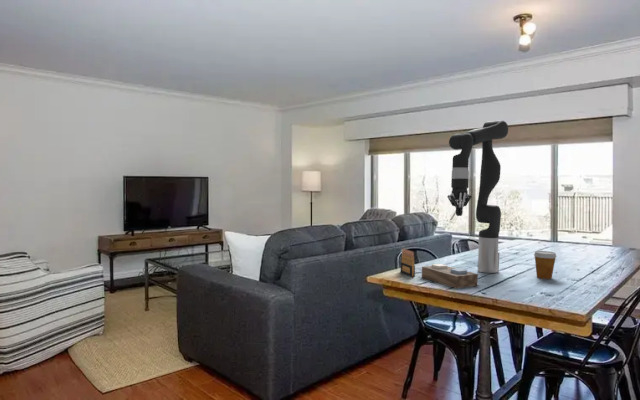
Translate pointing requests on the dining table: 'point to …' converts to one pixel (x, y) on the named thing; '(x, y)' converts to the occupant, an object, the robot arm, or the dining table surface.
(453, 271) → the slate key
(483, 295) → the dining table surface
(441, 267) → the cream key
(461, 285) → the key panel
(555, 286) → the dining table surface
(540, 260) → the disposable coffee cup
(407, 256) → the wooden panel with frame
